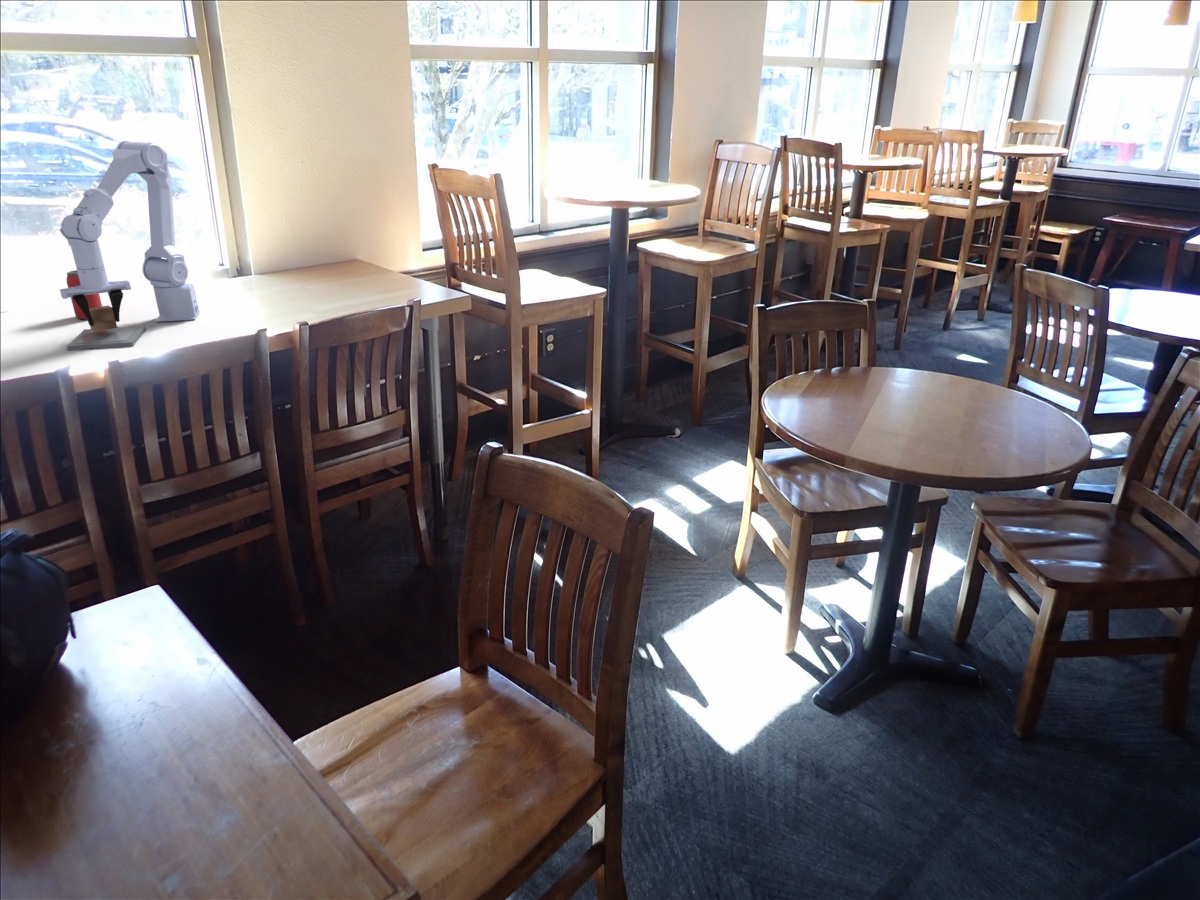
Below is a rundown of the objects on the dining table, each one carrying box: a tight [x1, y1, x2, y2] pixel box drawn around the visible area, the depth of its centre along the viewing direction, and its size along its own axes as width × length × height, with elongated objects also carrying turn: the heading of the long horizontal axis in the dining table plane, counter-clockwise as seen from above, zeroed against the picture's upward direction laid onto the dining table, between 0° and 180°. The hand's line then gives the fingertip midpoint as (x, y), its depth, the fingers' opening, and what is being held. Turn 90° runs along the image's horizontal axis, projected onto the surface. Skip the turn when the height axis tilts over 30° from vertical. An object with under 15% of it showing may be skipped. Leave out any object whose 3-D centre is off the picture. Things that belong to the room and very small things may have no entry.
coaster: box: [66, 325, 147, 351], centre depth 204 cm, size 14×14×1 cm
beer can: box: [66, 269, 103, 321], centre depth 220 cm, size 7×7×12 cm
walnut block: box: [89, 305, 118, 331], centre depth 205 cm, size 5×5×5 cm
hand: (104, 322), depth 203 cm, fingers closed on walnut block, 5 cm apart
